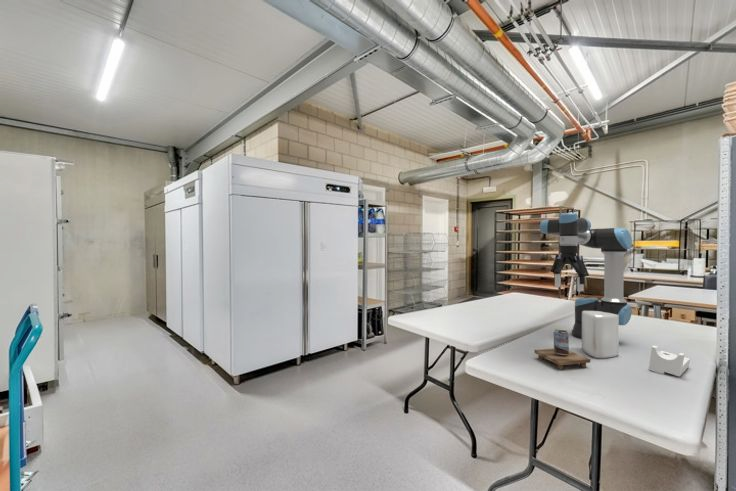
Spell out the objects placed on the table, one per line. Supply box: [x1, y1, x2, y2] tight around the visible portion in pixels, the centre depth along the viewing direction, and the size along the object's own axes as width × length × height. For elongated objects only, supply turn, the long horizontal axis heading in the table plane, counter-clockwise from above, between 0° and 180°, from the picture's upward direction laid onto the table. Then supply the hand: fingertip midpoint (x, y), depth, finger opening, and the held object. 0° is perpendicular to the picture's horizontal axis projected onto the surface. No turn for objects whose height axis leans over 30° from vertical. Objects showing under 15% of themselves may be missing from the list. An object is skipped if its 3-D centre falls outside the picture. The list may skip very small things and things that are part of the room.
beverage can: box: [553, 328, 570, 355], centre depth 150 cm, size 6×7×12 cm
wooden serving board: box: [534, 347, 591, 371], centre depth 150 cm, size 16×16×4 cm
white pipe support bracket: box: [648, 344, 691, 378], centre depth 141 cm, size 18×10×10 cm, turn 125°
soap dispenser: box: [581, 311, 620, 359], centre depth 159 cm, size 15×14×22 cm
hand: (568, 289), depth 153 cm, fingers open, 13 cm apart
